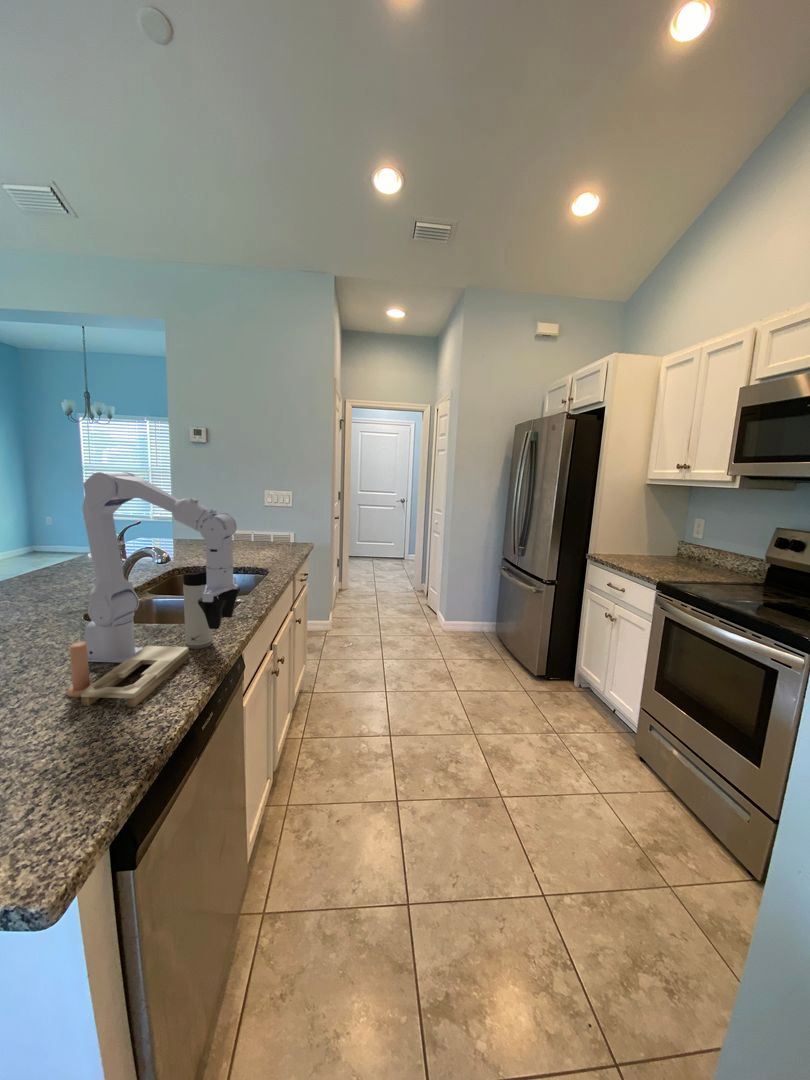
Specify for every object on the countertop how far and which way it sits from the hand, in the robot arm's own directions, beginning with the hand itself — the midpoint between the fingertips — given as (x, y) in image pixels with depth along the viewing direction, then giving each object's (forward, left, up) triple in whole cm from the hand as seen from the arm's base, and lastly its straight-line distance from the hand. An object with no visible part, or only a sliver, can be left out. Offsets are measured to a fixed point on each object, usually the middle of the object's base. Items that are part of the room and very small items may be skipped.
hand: (221, 622), depth 102 cm
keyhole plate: (-14, -9, -10) cm, 19 cm away
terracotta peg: (-22, -15, -10) cm, 29 cm away
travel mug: (-10, +10, -10) cm, 17 cm away
